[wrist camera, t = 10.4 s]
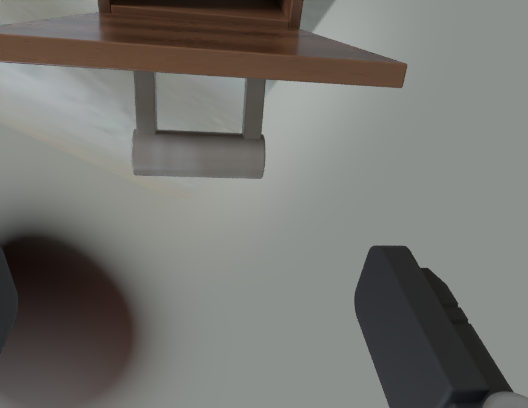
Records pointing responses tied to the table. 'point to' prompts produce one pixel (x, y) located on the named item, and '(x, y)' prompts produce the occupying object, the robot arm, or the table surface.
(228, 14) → the bread box
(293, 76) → the lid
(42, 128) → the table surface
